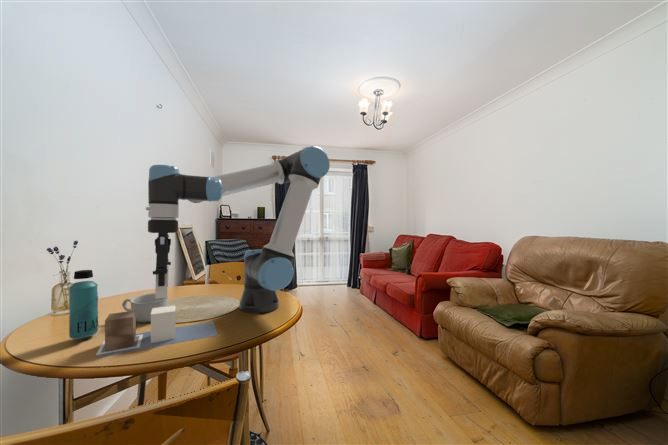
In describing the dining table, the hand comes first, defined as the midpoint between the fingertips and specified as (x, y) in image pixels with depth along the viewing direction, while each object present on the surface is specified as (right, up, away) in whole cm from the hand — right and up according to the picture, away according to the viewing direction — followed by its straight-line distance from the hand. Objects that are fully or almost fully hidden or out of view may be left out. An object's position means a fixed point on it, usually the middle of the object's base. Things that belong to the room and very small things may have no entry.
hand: (162, 291), depth 81 cm
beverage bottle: (-22, -14, -1) cm, 26 cm away
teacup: (-15, -14, +15) cm, 25 cm away
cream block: (0, -13, 0) cm, 13 cm away
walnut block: (-9, -13, -5) cm, 16 cm away
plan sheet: (0, -14, 0) cm, 14 cm away
